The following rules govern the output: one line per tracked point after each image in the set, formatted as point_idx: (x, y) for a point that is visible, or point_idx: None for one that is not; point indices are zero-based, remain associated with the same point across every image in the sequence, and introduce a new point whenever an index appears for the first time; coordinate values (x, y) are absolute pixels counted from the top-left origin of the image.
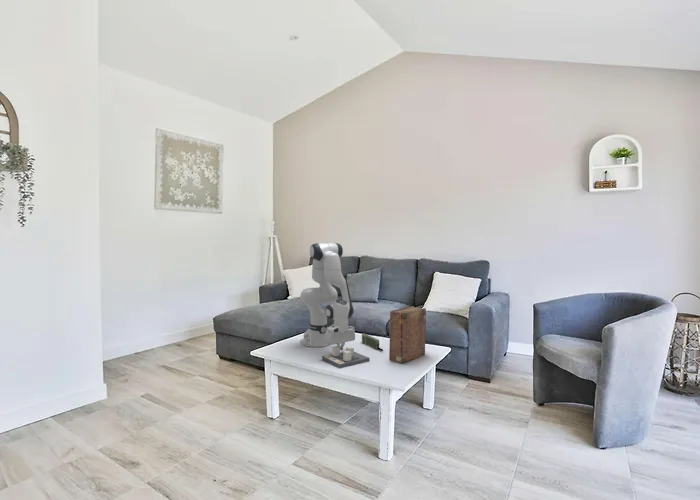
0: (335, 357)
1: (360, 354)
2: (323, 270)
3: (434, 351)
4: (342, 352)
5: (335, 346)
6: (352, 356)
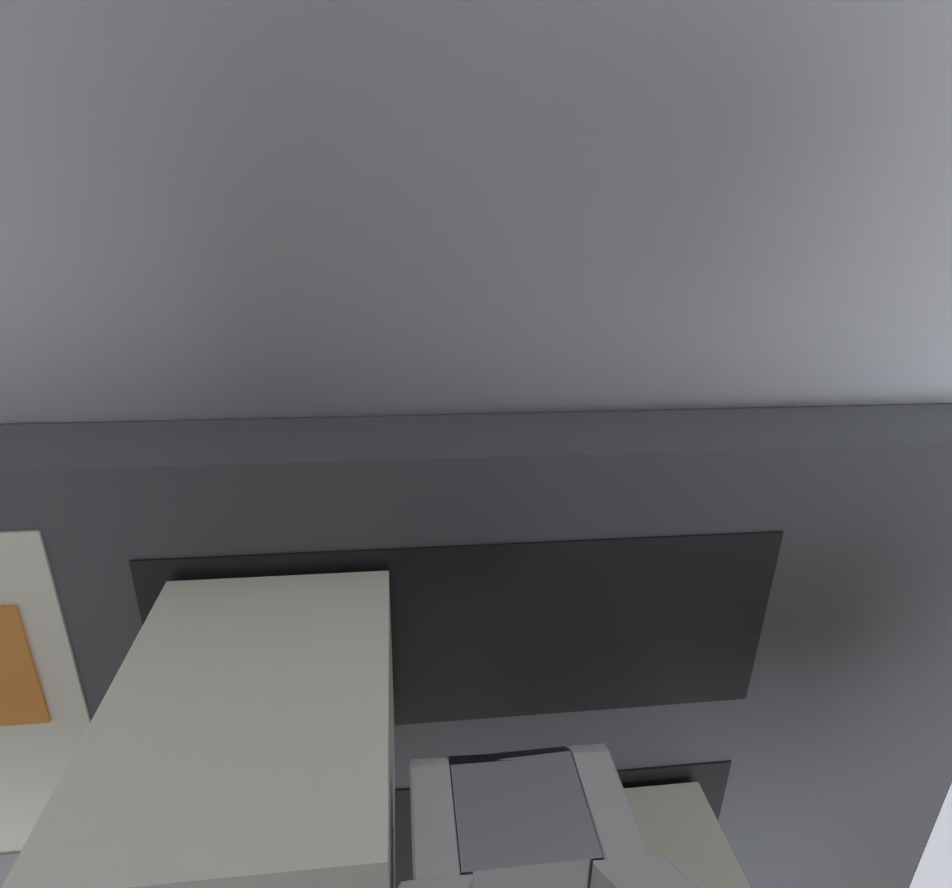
0: None
1: (918, 828)
2: None
3: None
4: (702, 472)
5: (253, 880)
6: None
